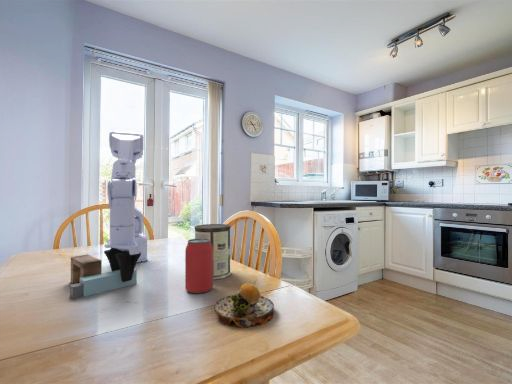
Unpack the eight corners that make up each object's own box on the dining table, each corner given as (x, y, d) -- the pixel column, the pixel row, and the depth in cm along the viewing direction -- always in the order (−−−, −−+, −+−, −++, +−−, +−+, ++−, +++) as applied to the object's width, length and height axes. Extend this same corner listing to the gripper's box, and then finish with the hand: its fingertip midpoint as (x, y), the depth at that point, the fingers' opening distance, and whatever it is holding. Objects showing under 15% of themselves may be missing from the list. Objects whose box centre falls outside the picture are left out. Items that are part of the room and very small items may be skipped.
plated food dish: (247, 297, 61) (247, 264, 61) (287, 314, 52) (287, 276, 52) (201, 313, 52) (201, 275, 53) (239, 337, 44) (239, 291, 44)
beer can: (217, 286, 67) (217, 238, 67) (204, 296, 61) (204, 243, 61) (194, 283, 69) (194, 237, 69) (179, 292, 63) (179, 241, 63)
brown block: (87, 278, 73) (87, 254, 73) (101, 286, 67) (101, 260, 67) (70, 282, 70) (70, 257, 70) (83, 291, 64) (83, 263, 64)
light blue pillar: (131, 280, 71) (131, 267, 71) (136, 283, 69) (136, 269, 69) (69, 295, 61) (69, 280, 61) (73, 299, 59) (73, 283, 59)
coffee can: (208, 267, 84) (208, 223, 84) (236, 272, 80) (236, 224, 80) (186, 277, 75) (186, 226, 75) (217, 282, 70) (217, 228, 70)
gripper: (94, 224, 70) (94, 276, 70) (117, 229, 60) (117, 289, 60) (122, 222, 75) (122, 270, 75) (147, 226, 66) (147, 281, 66)
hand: (122, 278), depth 68 cm, fingers open, 5 cm apart
